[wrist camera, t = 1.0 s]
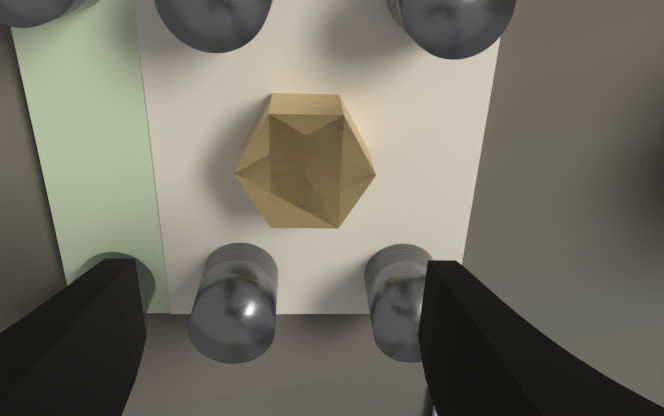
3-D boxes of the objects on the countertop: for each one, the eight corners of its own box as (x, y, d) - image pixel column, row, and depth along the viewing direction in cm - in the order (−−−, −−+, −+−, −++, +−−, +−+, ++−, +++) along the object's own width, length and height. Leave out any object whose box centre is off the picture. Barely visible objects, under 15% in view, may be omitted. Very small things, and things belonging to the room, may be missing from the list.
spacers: (429, 313, 24) (449, 372, 20) (85, 313, 23) (50, 375, 20) (487, -79, 17) (530, -81, 14) (0, -100, 16) (-74, -107, 13)
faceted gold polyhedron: (364, 198, 21) (371, 228, 19) (242, 196, 21) (236, 227, 19) (372, 95, 19) (381, 116, 17) (238, 92, 19) (230, 113, 17)
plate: (448, 302, 24) (453, 313, 24) (80, 302, 23) (72, 314, 23) (510, -78, 18) (519, -78, 17) (-5, -100, 17) (-19, -101, 16)
